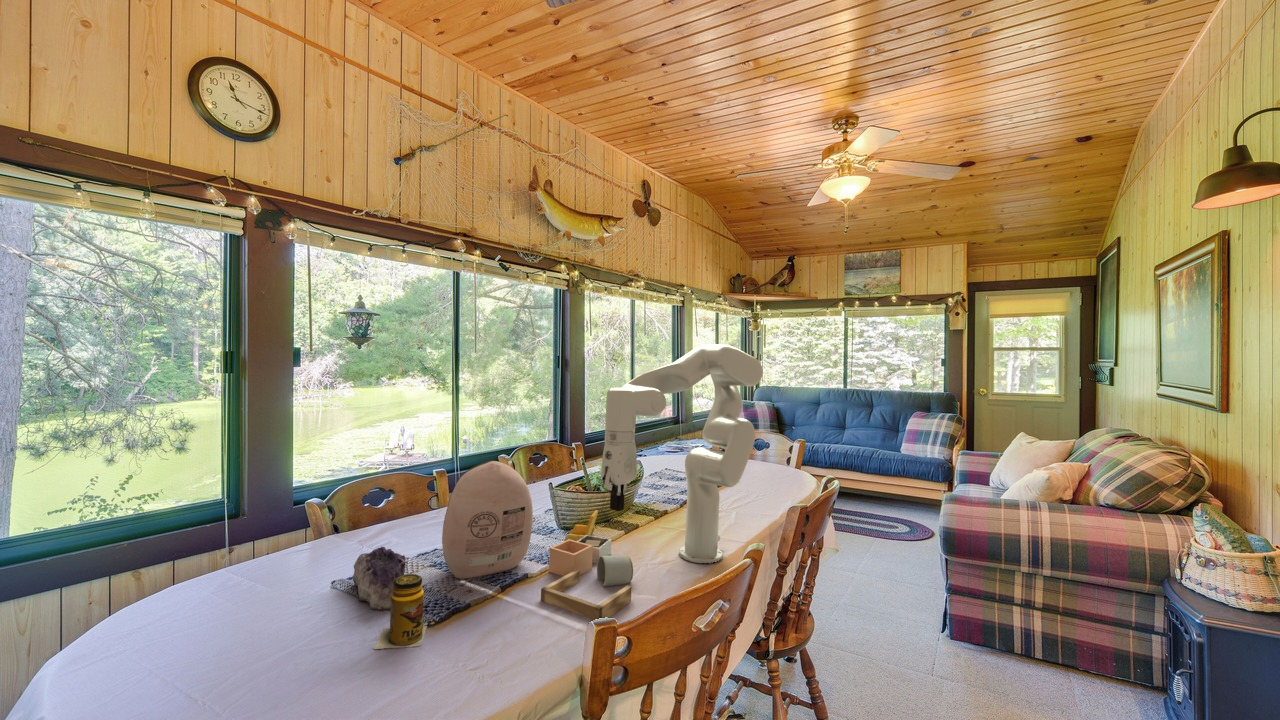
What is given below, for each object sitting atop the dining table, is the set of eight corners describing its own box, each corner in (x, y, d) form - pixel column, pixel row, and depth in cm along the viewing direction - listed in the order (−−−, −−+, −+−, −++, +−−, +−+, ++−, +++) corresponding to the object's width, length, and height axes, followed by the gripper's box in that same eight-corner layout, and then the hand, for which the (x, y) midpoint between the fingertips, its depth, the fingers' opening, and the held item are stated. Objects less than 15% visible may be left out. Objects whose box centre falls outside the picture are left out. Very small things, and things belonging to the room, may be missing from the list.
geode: (421, 604, 121) (416, 562, 120) (364, 624, 114) (359, 580, 113) (402, 568, 137) (398, 531, 136) (352, 584, 131) (347, 545, 130)
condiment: (421, 646, 104) (423, 585, 104) (373, 650, 102) (375, 587, 102) (427, 627, 111) (429, 570, 111) (383, 630, 109) (385, 572, 109)
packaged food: (514, 553, 152) (518, 448, 151) (541, 579, 135) (546, 462, 135) (434, 568, 140) (438, 454, 139) (453, 598, 123) (457, 470, 123)
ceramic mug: (634, 588, 133) (635, 558, 133) (604, 592, 130) (605, 562, 130) (620, 572, 142) (621, 544, 142) (592, 576, 139) (593, 547, 139)
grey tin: (585, 551, 155) (586, 534, 155) (610, 556, 152) (611, 539, 152) (572, 561, 148) (573, 543, 148) (598, 566, 145) (599, 548, 145)
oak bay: (575, 583, 134) (576, 569, 134) (631, 601, 126) (631, 586, 126) (540, 603, 123) (541, 588, 123) (598, 624, 115) (599, 608, 114)
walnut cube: (586, 553, 152) (587, 539, 152) (600, 554, 152) (600, 541, 152) (583, 559, 148) (584, 544, 148) (597, 560, 148) (598, 546, 148)
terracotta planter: (567, 564, 146) (568, 539, 145) (591, 571, 142) (592, 545, 141) (548, 574, 139) (549, 547, 139) (573, 582, 135) (574, 555, 134)
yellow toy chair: (569, 534, 170) (570, 505, 170) (598, 537, 169) (599, 508, 168) (559, 546, 160) (560, 515, 159) (590, 549, 158) (591, 518, 158)
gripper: (615, 442, 125) (612, 520, 126) (647, 435, 138) (644, 505, 139) (590, 438, 129) (587, 514, 129) (623, 432, 142) (620, 500, 142)
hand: (616, 509), depth 134 cm, fingers closed
